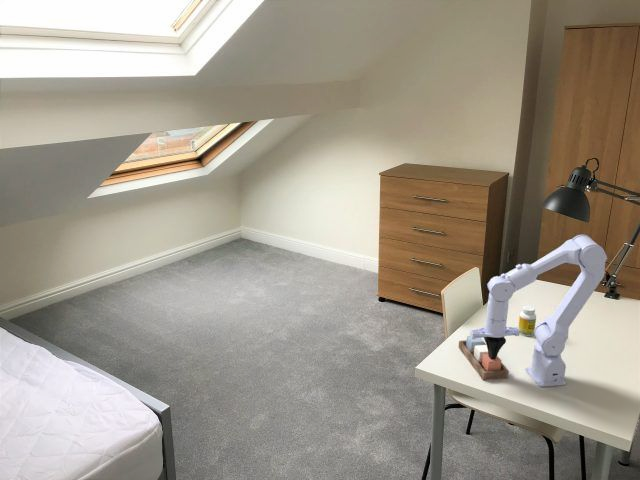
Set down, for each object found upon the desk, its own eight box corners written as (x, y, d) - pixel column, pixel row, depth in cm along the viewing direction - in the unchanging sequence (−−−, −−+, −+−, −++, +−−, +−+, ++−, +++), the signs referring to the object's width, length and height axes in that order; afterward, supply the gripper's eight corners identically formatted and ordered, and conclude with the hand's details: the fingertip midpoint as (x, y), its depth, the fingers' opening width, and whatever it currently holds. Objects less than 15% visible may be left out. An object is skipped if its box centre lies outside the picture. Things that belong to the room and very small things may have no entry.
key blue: (482, 351, 170) (483, 341, 169) (470, 351, 170) (471, 342, 169) (477, 344, 174) (478, 335, 173) (466, 345, 174) (466, 336, 173)
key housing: (508, 378, 158) (508, 371, 157) (483, 380, 157) (483, 373, 156) (480, 345, 176) (481, 339, 175) (458, 347, 175) (459, 340, 174)
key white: (491, 361, 164) (492, 351, 163) (478, 362, 164) (479, 352, 163) (485, 354, 168) (486, 344, 167) (473, 355, 168) (474, 345, 167)
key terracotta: (500, 370, 159) (501, 360, 157) (487, 371, 158) (488, 361, 157) (494, 363, 162) (495, 353, 161) (481, 364, 162) (483, 354, 161)
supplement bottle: (524, 328, 188) (527, 303, 185) (537, 334, 184) (540, 308, 181) (514, 332, 185) (517, 307, 182) (527, 338, 181) (530, 312, 178)
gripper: (513, 309, 159) (508, 349, 164) (467, 312, 158) (463, 352, 162) (525, 320, 153) (519, 361, 157) (477, 323, 151) (473, 364, 155)
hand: (492, 357), depth 159 cm, fingers closed, pressing on key terracotta
